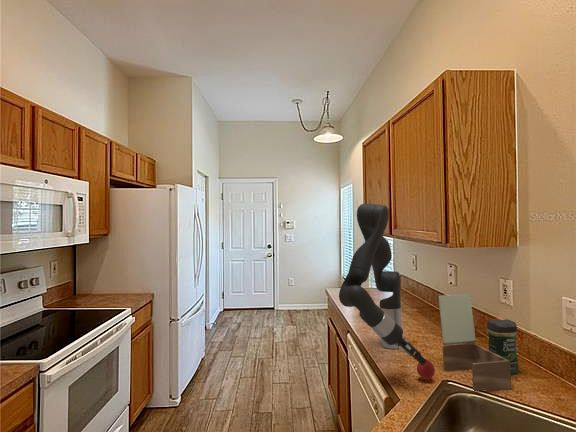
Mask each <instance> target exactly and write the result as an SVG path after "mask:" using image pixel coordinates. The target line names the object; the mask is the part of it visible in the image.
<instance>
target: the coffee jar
mask: <svg viewBox="0 0 576 432" xmlns="http://www.w3.org/2000/svg"><path fill="white" fill-rule="evenodd" d="M486 332H487V336H488V348H487V350H489V351H491V352H493V353H495V354H497V355H499V356H501V357H503V358H505V359H507V360H509V361H510V364H511V375H514V374H518V373H519V372H520V368H519V361H518V354H517V343H516V340H517V336H518V326H517V323H516V322H515V321H513V320H511V319H508V318H507V319H491V320H490V319H489V320H487V322H486Z"/></svg>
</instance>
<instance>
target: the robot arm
mask: <svg viewBox="0 0 576 432" xmlns="http://www.w3.org/2000/svg"><path fill="white" fill-rule="evenodd" d="M389 215H390V212H389V208H388V207H387V206H386V205H383V204H374V203H362V204H360V205H358V208H357V210H356V221H357V224H358V227H359V230H360V232H361V235H362V236H363V237H362V238H364V242H363V243H362V245H361V246H359V247H358V248H357V250H356V251H354V254H353V256H352V258H351V262H350V265H349V269H348V273H347V275H346V276H345V278H344V280H343V282H342V284H341V286H340V289H339V293H338V300H339V302H340V303H341V305H342V306H344V307H346V308H347V307H348V308H353V307H354V308H356V309H357V310H358V312H359V313H358V314H359V317H360V318H361V320H362V321H363V322H365V324H366V325H367V326H369V328H371V330H372V331H373V332H374V333H375V334H376V335H377V336H378V337H379V338H380V346H381V347H382V348H385V349H389V350H395V349H396V350H397V349H399V350H402V351H403V352H404V353H405V354H406V355H408V356H409V357H412V358H413V359H414V360H416V361H417V362H418V363H420V364H421V365H422V366H423V365H425V363H426V362H427V361H426V360H425V359H424V358H423V355H422V353H421V352H420V351H418V349H416V348H415V346H414V345H413V344H412V343H411V342H409V340H408V339H407V338H406V337H404V336H403V335H404V330H403V329H404V328H402V326H403V325H402V306H401V302H402V301H401V300H402V299H401V298H402V297H401V290H402V289H401V287H402V286H401V280H402V279H401V274H400V272H398V271H395V270H394V271H393V270H390V271H389V270H385V268H386V267H387V266H388V265H389V264H390V262H391V260H392V254H393V253H392V250H391V245H390V243H389V241H388V240H387V239H386V238H385V236H384V234H385V231H386V228H387V226H388V223H389V218H390V217H389ZM371 268H372V271H373V278H374V282H375V283H374V284H375V287H376V289H377V291H378V292H382V293H392V295H391V296H389V297H386V298H383V299H380V300H379V306H378V305H377V304H376V303H375V300H374V299H373V297H372V296H371V294H370V293H369V292H368V291H367V290H366V288H364V287H363V286H362V284H363V283H366V281H367V280H368V279H369V276H370V271H371Z"/></svg>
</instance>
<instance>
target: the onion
mask: <svg viewBox="0 0 576 432" xmlns="http://www.w3.org/2000/svg"><path fill="white" fill-rule="evenodd" d="M422 357H423V356H422ZM423 358H424V359H425V360H426V361H427V362H426V363H425V365H423V366H422V365H421V364H420V363H419V362H418V363H417V365H416V371H417V373H418V375H419V377H421V378H422V379H423V380H424V381H429V380H430V379H432V378H433V377H434V375H435V371H436V369H435V366H434V364H433V363H432V362H431V361H430V360H429V359H428V358H427V357H425V356H424V357H423Z"/></svg>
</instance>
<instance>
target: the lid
mask: <svg viewBox="0 0 576 432" xmlns="http://www.w3.org/2000/svg"><path fill="white" fill-rule="evenodd" d="M471 297H472V296H471V294H470V293H467V294H466V293H465V294H450V295H438V305H439V306H438V307H439V314H440V323H441V324H440V325H441V334H442V346H447V345H459V344H471V343H476V341H477V340H476V332H475V331H476V330H475V325H474V324H475V323H474V315H473V307H472V306H473V305H472V298H471Z"/></svg>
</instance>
